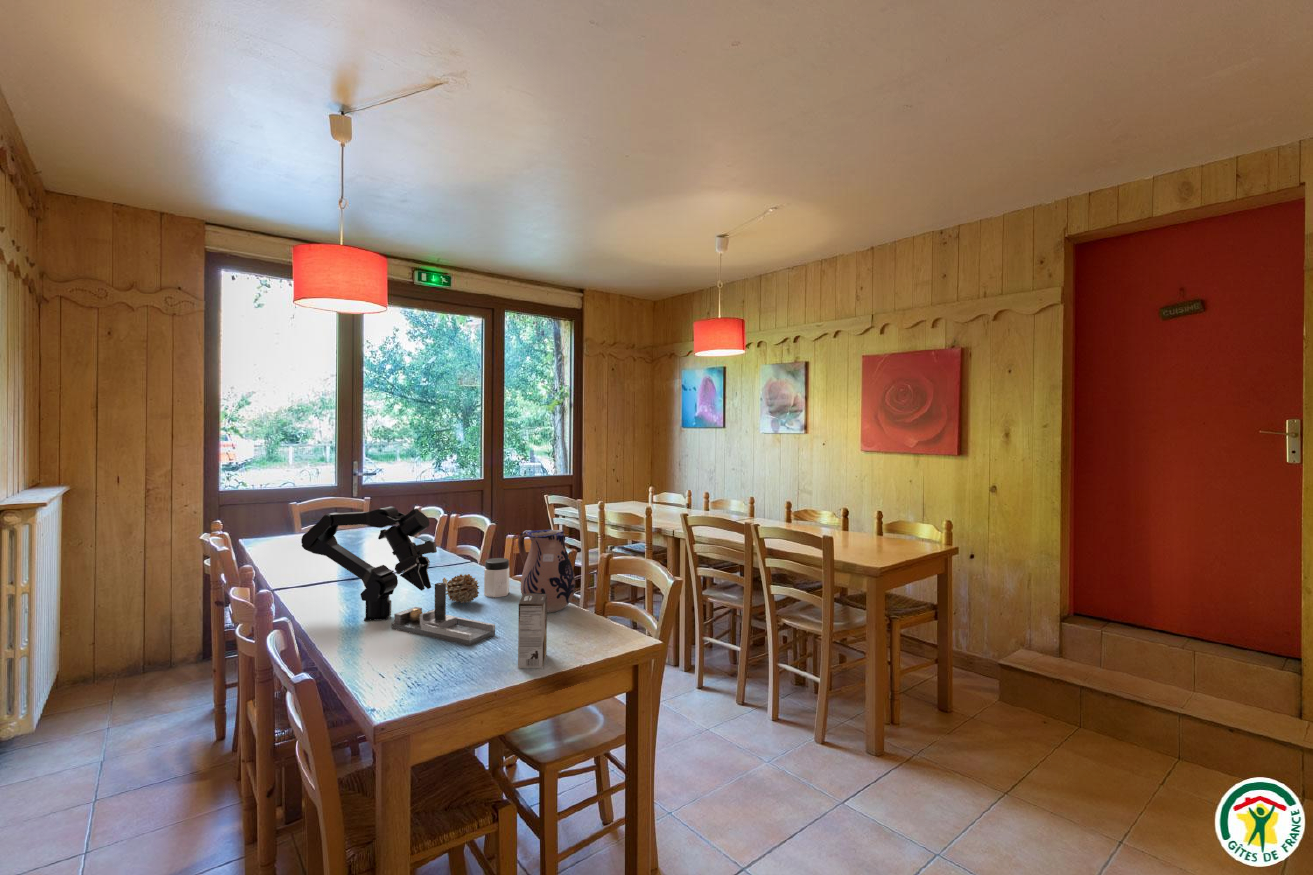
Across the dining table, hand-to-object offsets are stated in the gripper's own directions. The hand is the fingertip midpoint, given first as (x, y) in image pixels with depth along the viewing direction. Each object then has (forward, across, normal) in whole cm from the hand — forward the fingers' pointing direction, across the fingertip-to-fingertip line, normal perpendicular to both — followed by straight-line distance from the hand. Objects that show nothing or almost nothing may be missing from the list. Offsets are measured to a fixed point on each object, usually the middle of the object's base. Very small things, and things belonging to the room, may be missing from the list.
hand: (426, 588), depth 184 cm
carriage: (+11, -7, 0) cm, 14 cm away
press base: (+13, -8, 0) cm, 16 cm away
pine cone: (+7, +23, -2) cm, 24 cm away
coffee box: (+32, -33, -20) cm, 50 cm away
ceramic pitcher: (+24, +11, -26) cm, 37 cm away
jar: (+12, +30, -13) cm, 35 cm away
